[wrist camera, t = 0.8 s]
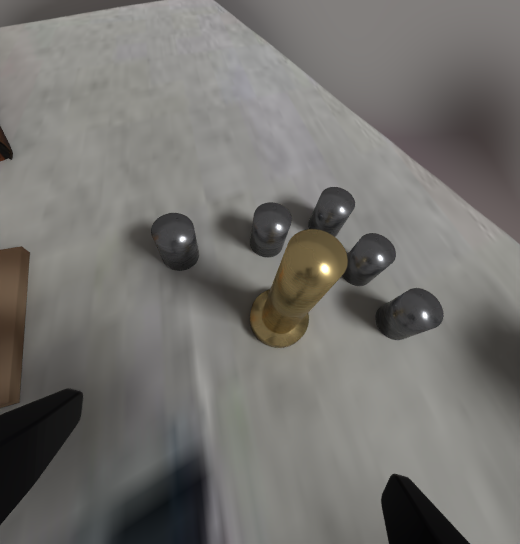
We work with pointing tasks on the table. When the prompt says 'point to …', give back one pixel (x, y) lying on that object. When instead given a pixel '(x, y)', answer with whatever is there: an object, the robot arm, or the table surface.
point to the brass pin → (297, 287)
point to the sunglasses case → (4, 147)
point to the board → (12, 321)
